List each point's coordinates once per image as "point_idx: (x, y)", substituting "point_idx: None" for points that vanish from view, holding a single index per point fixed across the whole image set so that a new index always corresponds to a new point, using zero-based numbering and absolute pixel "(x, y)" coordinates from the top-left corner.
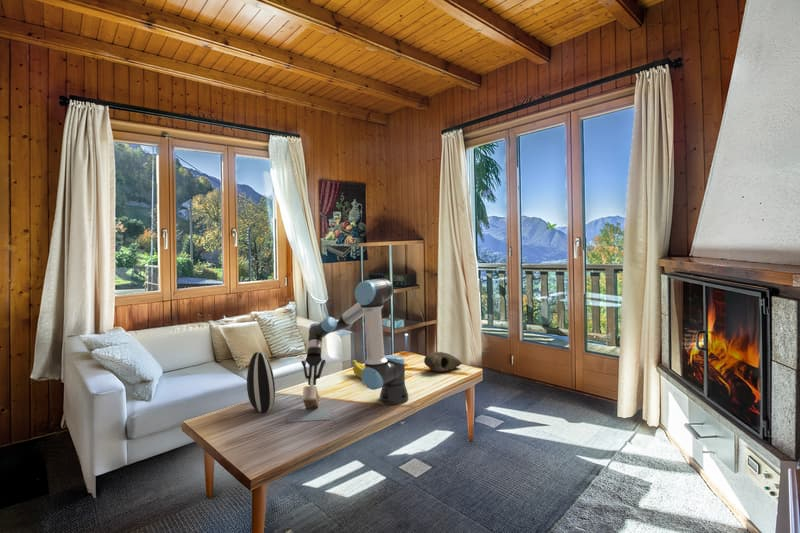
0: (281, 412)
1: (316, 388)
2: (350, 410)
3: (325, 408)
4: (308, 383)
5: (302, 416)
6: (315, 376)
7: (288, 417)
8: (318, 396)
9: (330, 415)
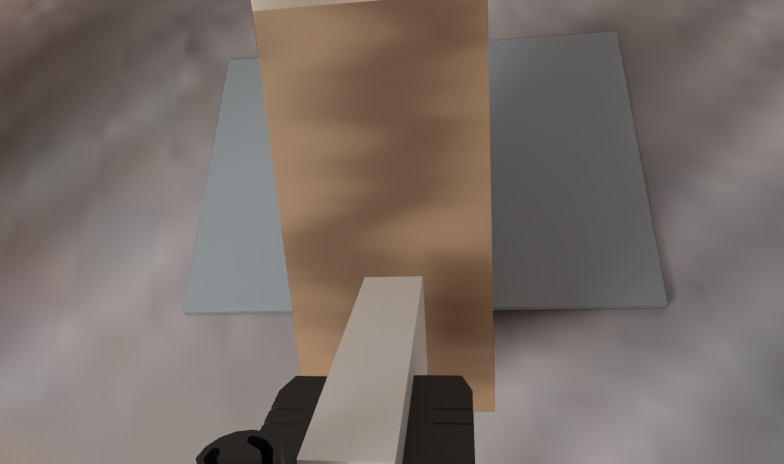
0: (780, 259)
1: (257, 27)
2: (21, 240)
3: (256, 290)
4: (461, 388)
5: None
6: (213, 443)
7: (630, 106)
8: (302, 356)
9: (217, 125)
